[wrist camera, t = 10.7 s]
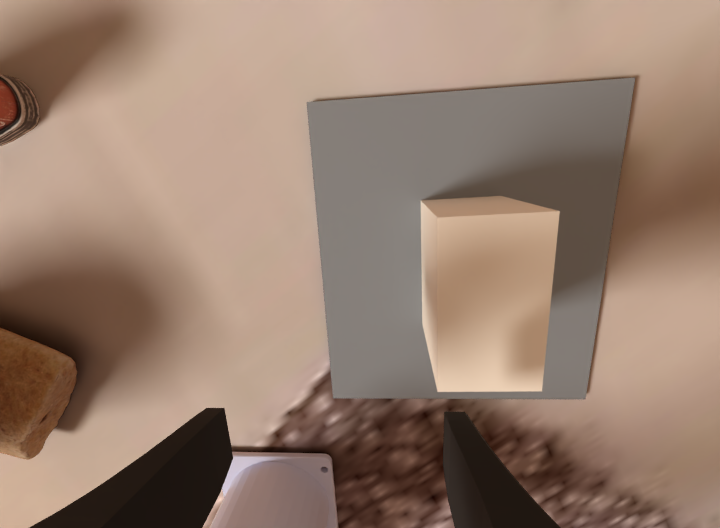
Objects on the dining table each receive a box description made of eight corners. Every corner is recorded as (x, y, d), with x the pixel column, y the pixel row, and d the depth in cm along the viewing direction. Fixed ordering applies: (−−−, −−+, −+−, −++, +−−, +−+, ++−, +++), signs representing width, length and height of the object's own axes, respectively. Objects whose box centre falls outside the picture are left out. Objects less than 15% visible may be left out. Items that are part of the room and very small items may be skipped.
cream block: (501, 195, 17) (559, 211, 11) (494, 322, 19) (541, 391, 13) (420, 200, 17) (437, 217, 12) (422, 324, 19) (437, 391, 13)
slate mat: (581, 394, 20) (585, 399, 20) (334, 394, 21) (333, 398, 21) (629, 79, 15) (635, 77, 15) (308, 103, 17) (306, 102, 16)
